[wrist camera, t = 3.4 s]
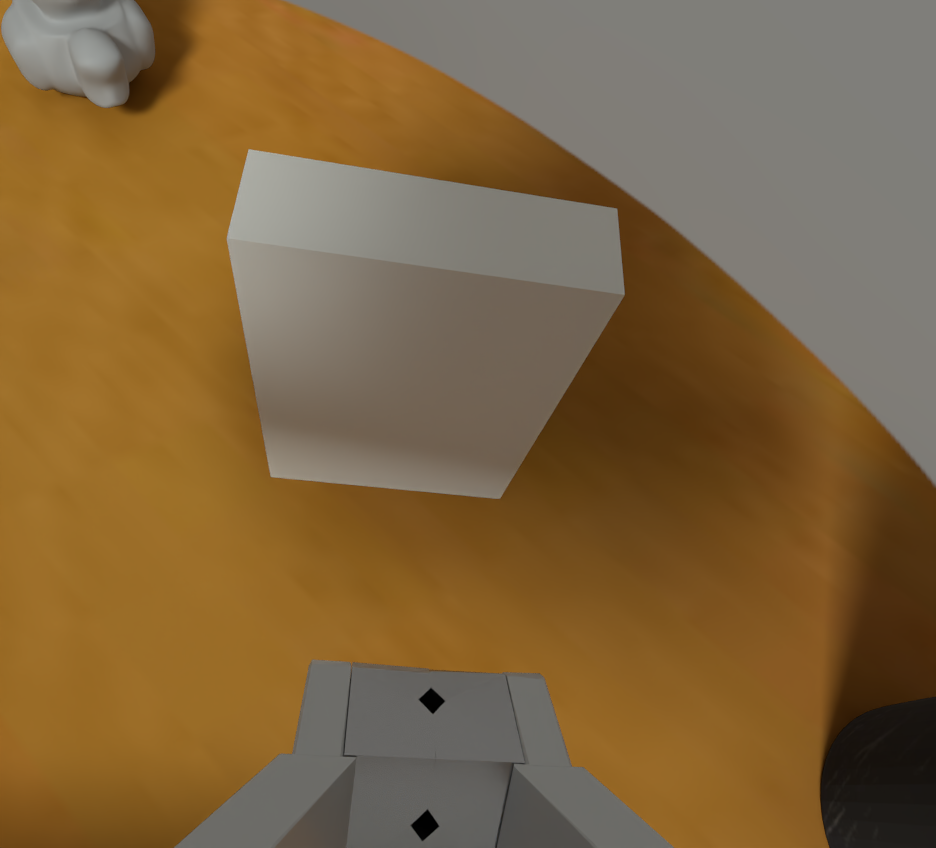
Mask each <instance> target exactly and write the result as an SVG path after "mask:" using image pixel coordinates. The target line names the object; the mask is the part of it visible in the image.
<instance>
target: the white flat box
mask: <svg viewBox="0 0 936 848" xmlns="http://www.w3.org/2000/svg"><path fill="white" fill-rule="evenodd" d="M227 243H228V248H229V253H230V259H231V264H232V270H233V275H234V280H235V286H236V291H237V297H238V302H239V308H240V313H241V318H242V324H243V329H244V335H245V340H246V346H247V351H248V356H249V362H250V367H251V373H252V378H253V383H254V389H255V394H256V400H257V405H258V411H259V416H260V421H261V427H262V432H263V438H264V443H265V449H266V454H267V459H268V465H269V470H270V476H271V477H276V478H286V479H296V480H307V481H317V482H328V483H338V484H348V485H359V486H369V487H380V488H390V489H400V490H411V491H421V492H432V493H442V494H452V495H463V496H473V497H484V498H494V499H500V498H501V496H502V494H503V493H504V491H505V489H506V488H507V486H508V485H509V483H510V481H511V480H512V478H513V476H514V475H515V473H516V472H517V470H518V468H519V467H520V465H521V463H522V462H523V460H524V459H525V457H526V455H527V454H528V452H529V450H530V449H531V447H532V445H533V444H534V442H535V441H536V439H537V437H538V436H539V434H540V432H541V431H542V429H543V428H544V426H545V424H546V423H547V421H548V419H549V418H550V416H551V415H552V413H553V411H554V410H555V408H556V406H557V405H558V403H559V401H560V400H561V398H562V397H563V395H564V393H565V392H566V390H567V388H568V387H569V385H570V384H571V382H572V380H573V379H574V377H575V375H576V374H577V372H578V370H579V369H580V367H581V366H582V364H583V362H584V361H585V359H586V357H587V356H588V354H589V353H590V351H591V349H592V348H593V346H594V344H595V343H596V341H597V340H598V338H599V336H600V335H601V333H602V331H603V330H604V328H605V326H606V325H607V323H608V322H609V320H610V318H611V317H612V315H613V313H614V312H615V310H616V309H617V307H618V305H619V304H620V302H621V300H622V299H623V297H624V296H625V291H624V280H623V268H622V257H621V246H620V234H619V223H618V212H617V208H610V207H604V206H598V205H592V204H585V203H579V202H573V201H567V200H561V199H554V198H548V197H542V196H536V195H530V194H523V193H517V192H511V191H505V190H498V189H492V188H486V187H480V186H474V185H467V184H461V183H455V182H449V181H442V180H436V179H430V178H424V177H418V176H411V175H405V174H399V173H393V172H386V171H380V170H374V169H368V168H362V167H355V166H349V165H343V164H337V163H331V162H324V161H318V160H312V159H306V158H299V157H293V156H287V155H281V154H275V153H268V152H262V151H256V150H250V149H249V150H248V154H247V159H246V163H245V167H244V171H243V175H242V179H241V183H240V187H239V191H238V195H237V199H236V203H235V207H234V211H233V215H232V219H231V223H230V227H229V231H228V235H227Z"/></svg>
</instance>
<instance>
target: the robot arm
mask: <svg viewBox="0 0 936 848" xmlns="http://www.w3.org/2000/svg"><path fill="white" fill-rule="evenodd" d="M350 676H351V678H350ZM174 848H674V847H673V846H672V845H670V844H669V843H668V842H667V841H666V840H665V839H664V838H663V837H661V836H660V835H659V834H658V833H657V832H656V831H655V830H654V829H652V828H651V827H650V826H649V825H648V824H647V823H646V822H644V821H643V820H642V819H641V818H640V817H639V816H638V815H637V814H635V813H634V812H633V811H632V810H631V809H630V808H629V807H628V806H626V805H625V804H624V803H623V802H622V801H621V800H620V799H619V798H617V797H616V796H615V795H614V794H613V793H612V792H611V791H610V790H608V789H607V788H606V787H605V786H604V785H603V784H602V783H601V782H599V781H598V780H597V779H596V778H595V777H594V776H593V775H591V774H590V773H589V772H588V771H587V770H586V769H585V768H583V767H572V765H571V762H570V758H569V755H568V752H567V749H566V746H565V742H564V739H563V736H562V733H561V730H560V726H559V723H558V720H557V717H556V714H555V710H554V707H553V704H552V701H551V698H550V694H549V691H548V688H547V685H546V681H545V678H544V677H543V676H542V675H541V674H540V673H509V672H503V673H502V674H499V673H482V672H464V671H447V670H430V669H426V668H414V667H402V666H390V665H379V664H367V663H355V662H353V663H352V671H351V663H350V662H340V661H325V660H312V661H311V663H310V665H309V668H308V674H307V679H306V684H305V690H304V695H303V700H302V705H301V711H300V716H299V721H298V726H297V732H296V737H295V742H294V747H293V753H292V754H279V755H278V756H277V757H276V758H274V759H273V760H272V761H271V762H270V763H269V764H268V765H267V766H265V767H264V768H263V769H262V770H261V771H260V772H259V773H257V774H256V775H255V776H254V777H253V778H252V779H251V780H250V781H248V782H247V783H246V784H245V785H244V786H243V787H242V788H241V789H239V790H238V791H237V792H236V793H235V794H234V795H233V796H232V797H230V798H229V799H228V800H227V801H226V802H225V803H224V804H222V805H221V806H220V807H219V808H218V809H217V810H216V811H215V812H213V813H212V814H211V815H210V816H209V817H208V818H207V819H206V820H204V821H203V822H202V823H201V824H200V825H199V826H198V827H197V828H195V829H194V830H193V831H192V832H191V833H190V834H189V835H187V836H186V837H185V838H184V839H183V840H182V841H181V842H180V843H178V844H177V845H176V846H175V847H174Z"/></svg>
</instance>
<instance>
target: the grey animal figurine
mask: <svg viewBox="0 0 936 848" xmlns="http://www.w3.org/2000/svg"><path fill="white" fill-rule="evenodd" d="M1 30H2V36H3V39H4V41H5V44H6V46H7V48H8V50H9V52H10V54H11V55H12V57H13V59H14V61H15V62H16V64H17V66H18V68H19V69H20V71H21V73H22V74H23V76H24V77H25V78H26V79H27V80H28V81H29V82H30V83H31V84H32V85H34V86H35V87H37V88H38V89H41V90H51V89H54V90H56V91H59V92H62V93H66V94H71V95H75V96H82V97H87V98H88V99H89V100H90V101H92V102H93V103H94V104H96V105H97V106H100V107H103V108H110V107H114V106H119V105H122V104H124V103H125V102H126V101H127V100H128V96H129V83H130V82H131V81H132V80H133V79H134V78H135V77H136V76H137V75H138V73H139V71H140V70H145V69H148V68H149V67H150V66H151V65H152V64H153V61H154V58H155V43H154V34H153V29H152V27H151V24H150V22H149V21H148V19H147V18H146V16H145V14H144V13H143V11H142V9H141V8H140V6H139V5H138V4H137V3H136V2H135V1H134V0H12V4H11V6H10V7H9V8H8V10H7V11H6V13H5V14H4V17H3V20H2V26H1Z"/></svg>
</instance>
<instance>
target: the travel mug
mask: <svg viewBox="0 0 936 848" xmlns="http://www.w3.org/2000/svg"><path fill="white" fill-rule="evenodd" d="M821 807H822V817H823V822H824V827H825V832H826V836H827V840H828V843H829V846H830V848H936V697H931V698H925V699H920V700H915V701H909V702H904V703H899V704H895V705H890V706H885V707H881V708H878V709H875V710H872V711H869V712H866V713H864V714H862V715H861V716H859V717H857V718H856V719H854V720H853V721H852V722H851V723H849V724H848V725H847V726H846V727H845V728H844V729H843V730H842V731H841V732H840V734H839V735H838V736H837V738H836V739H835V741H834V743H833V744H832V746H831V749H830V751H829V753H828V756H827V758H826V762H825V766H824V770H823V776H822V783H821Z"/></svg>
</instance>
